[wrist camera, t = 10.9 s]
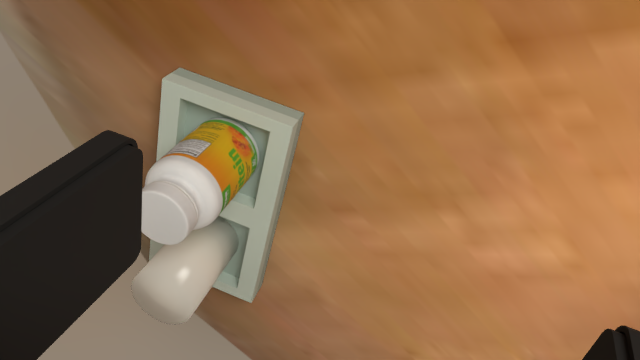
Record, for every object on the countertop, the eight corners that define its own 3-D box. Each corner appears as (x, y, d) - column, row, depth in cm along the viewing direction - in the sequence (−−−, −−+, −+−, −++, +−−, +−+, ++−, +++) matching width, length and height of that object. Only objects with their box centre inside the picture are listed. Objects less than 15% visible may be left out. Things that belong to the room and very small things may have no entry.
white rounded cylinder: (242, 224, 44) (195, 288, 38) (234, 267, 47) (189, 333, 41) (188, 202, 45) (132, 261, 38) (182, 246, 48) (130, 308, 41)
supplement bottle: (266, 181, 41) (206, 259, 34) (204, 177, 43) (133, 250, 35) (254, 116, 39) (187, 184, 31) (189, 114, 41) (109, 178, 33)
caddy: (179, 67, 40) (162, 78, 38) (304, 113, 39) (293, 126, 37) (163, 244, 50) (148, 260, 48) (261, 285, 49) (251, 303, 47)
